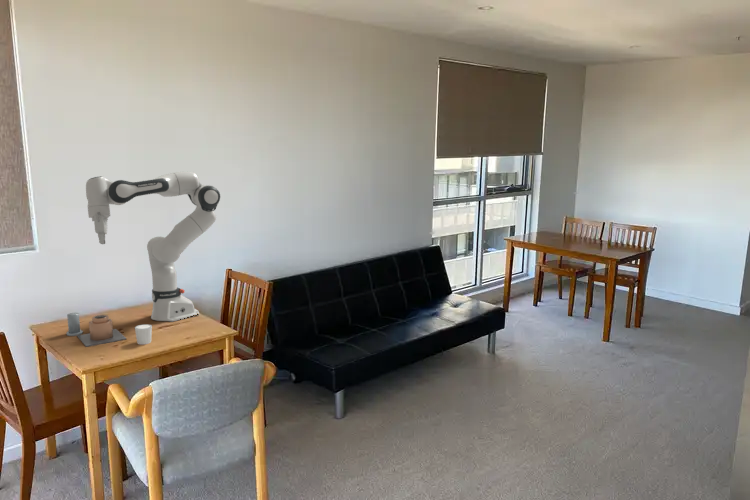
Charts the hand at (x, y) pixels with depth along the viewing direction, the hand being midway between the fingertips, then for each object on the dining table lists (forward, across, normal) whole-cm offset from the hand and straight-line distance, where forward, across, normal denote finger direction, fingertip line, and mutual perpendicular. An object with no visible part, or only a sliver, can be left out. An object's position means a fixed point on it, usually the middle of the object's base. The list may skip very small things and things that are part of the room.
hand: (102, 243), depth 255 cm
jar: (+41, -7, +4) cm, 42 cm away
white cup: (+44, -18, -13) cm, 50 cm away
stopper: (+39, +3, +15) cm, 42 cm away
